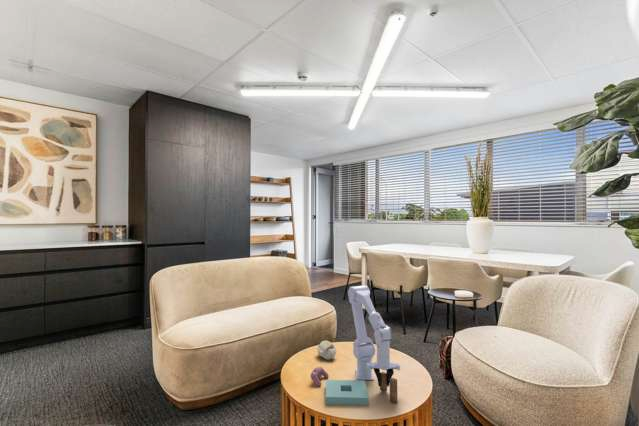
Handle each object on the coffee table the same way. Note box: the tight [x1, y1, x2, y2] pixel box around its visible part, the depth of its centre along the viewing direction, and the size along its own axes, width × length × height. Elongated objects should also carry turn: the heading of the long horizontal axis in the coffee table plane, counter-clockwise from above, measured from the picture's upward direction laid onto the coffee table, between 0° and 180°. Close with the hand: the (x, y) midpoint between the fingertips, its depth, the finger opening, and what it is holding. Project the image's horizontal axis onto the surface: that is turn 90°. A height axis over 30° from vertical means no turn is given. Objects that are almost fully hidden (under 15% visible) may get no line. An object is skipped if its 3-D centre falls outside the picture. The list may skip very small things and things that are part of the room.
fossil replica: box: [316, 339, 337, 361], centre depth 170 cm, size 12×8×10 cm
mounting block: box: [325, 379, 370, 406], centre depth 132 cm, size 14×18×3 cm
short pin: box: [379, 371, 388, 392], centre depth 134 cm, size 3×3×7 cm
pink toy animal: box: [310, 366, 330, 387], centre depth 144 cm, size 10×5×7 cm, turn 154°
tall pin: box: [389, 377, 399, 404], centre depth 127 cm, size 3×3×9 cm
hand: (383, 385), depth 134 cm, fingers closed on short pin, 3 cm apart
